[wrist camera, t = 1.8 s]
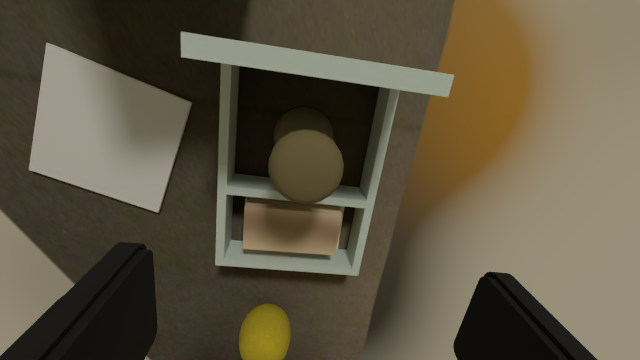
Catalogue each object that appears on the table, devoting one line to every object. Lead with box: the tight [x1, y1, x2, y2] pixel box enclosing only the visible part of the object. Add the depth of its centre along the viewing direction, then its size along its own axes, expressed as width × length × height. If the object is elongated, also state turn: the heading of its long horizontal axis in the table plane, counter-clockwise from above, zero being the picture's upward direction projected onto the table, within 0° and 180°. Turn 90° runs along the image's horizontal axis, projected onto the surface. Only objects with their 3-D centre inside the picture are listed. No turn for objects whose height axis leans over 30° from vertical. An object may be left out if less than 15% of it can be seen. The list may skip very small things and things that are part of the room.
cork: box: [268, 107, 344, 204], centre depth 24 cm, size 6×6×11 cm
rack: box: [181, 32, 454, 276], centre depth 25 cm, size 20×15×12 cm
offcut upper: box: [243, 198, 342, 255], centre depth 30 cm, size 5×9×2 cm, turn 83°
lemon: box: [239, 304, 291, 360], centre depth 33 cm, size 6×6×8 cm
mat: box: [29, 43, 192, 213], centre depth 28 cm, size 12×12×1 cm
